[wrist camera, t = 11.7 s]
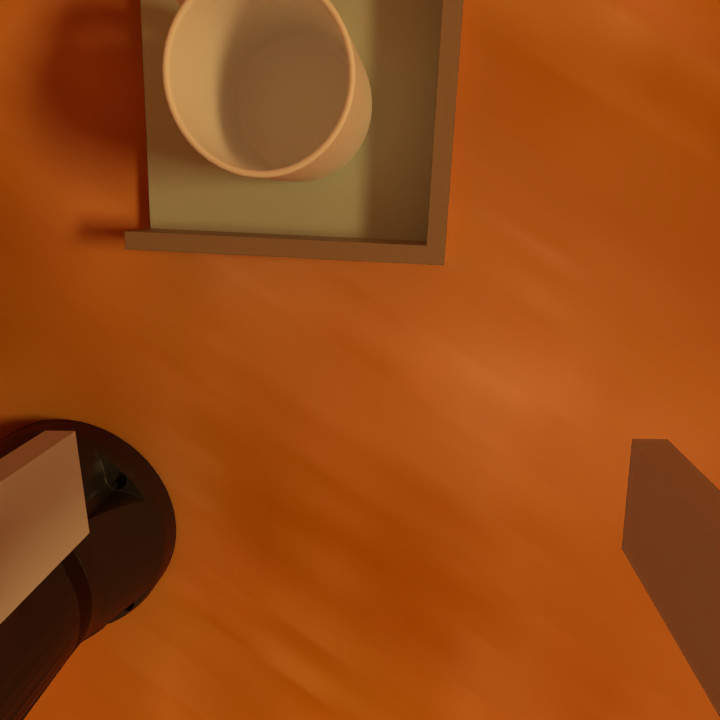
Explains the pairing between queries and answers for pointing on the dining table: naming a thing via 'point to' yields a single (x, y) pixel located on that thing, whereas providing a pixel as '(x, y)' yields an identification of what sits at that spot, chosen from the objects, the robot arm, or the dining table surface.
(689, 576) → the robot arm
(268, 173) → the mug
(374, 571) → the dining table surface
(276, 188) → the shallow square tray
